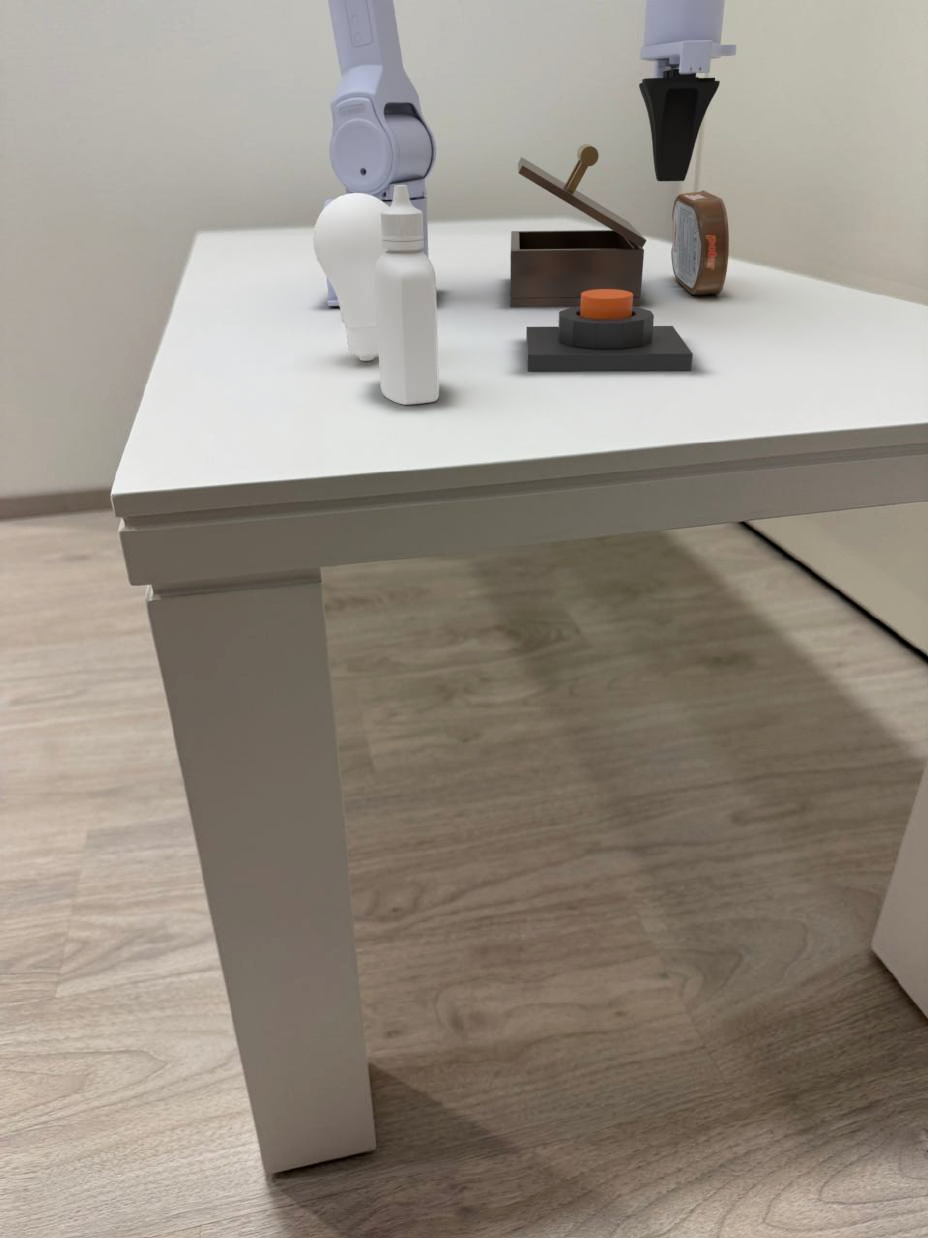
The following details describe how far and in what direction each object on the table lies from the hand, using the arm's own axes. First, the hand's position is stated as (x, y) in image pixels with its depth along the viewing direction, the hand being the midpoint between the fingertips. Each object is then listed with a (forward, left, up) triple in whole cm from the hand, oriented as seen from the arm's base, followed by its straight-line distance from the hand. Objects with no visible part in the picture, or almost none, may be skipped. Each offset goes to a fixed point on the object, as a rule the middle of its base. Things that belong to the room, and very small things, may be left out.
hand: (670, 180), depth 74 cm
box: (-7, +11, -10) cm, 17 cm away
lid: (-7, +11, -2) cm, 13 cm away
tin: (+5, +13, -11) cm, 18 cm away
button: (-6, -15, -8) cm, 18 cm away
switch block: (-6, -15, -10) cm, 19 cm away
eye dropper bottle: (-19, -25, -11) cm, 33 cm away
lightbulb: (-23, -16, -11) cm, 30 cm away
